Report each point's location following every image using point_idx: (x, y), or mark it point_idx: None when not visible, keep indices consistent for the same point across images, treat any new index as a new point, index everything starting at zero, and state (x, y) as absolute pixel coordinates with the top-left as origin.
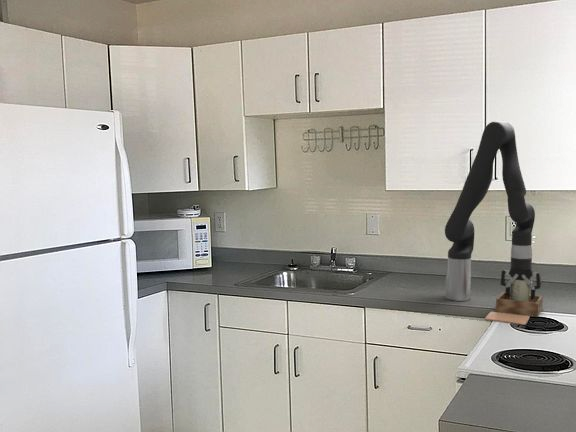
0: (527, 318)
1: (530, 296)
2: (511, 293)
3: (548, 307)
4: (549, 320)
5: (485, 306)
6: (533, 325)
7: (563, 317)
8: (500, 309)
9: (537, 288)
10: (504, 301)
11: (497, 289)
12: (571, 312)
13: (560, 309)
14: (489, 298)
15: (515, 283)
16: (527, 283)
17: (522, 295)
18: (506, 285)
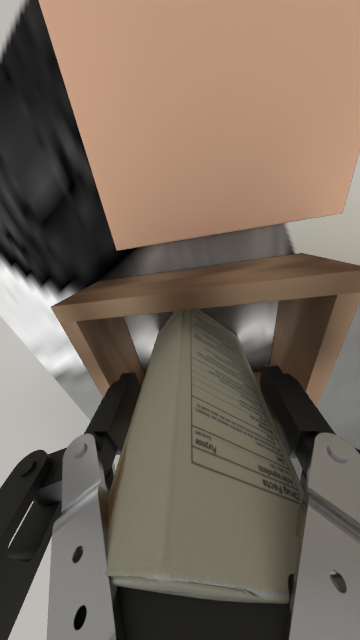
0: (103, 191)
1: None
2: (256, 395)
3: None
4: (36, 257)
5: (356, 321)
6: (8, 56)
7: (36, 328)
8: (283, 259)
9: (45, 453)
10: (285, 275)
11: (299, 474)
12: (60, 385)
13: (97, 397)
14: (327, 414)
15: (254, 504)
16: (98, 518)
17: (166, 367)
18: (349, 459)
